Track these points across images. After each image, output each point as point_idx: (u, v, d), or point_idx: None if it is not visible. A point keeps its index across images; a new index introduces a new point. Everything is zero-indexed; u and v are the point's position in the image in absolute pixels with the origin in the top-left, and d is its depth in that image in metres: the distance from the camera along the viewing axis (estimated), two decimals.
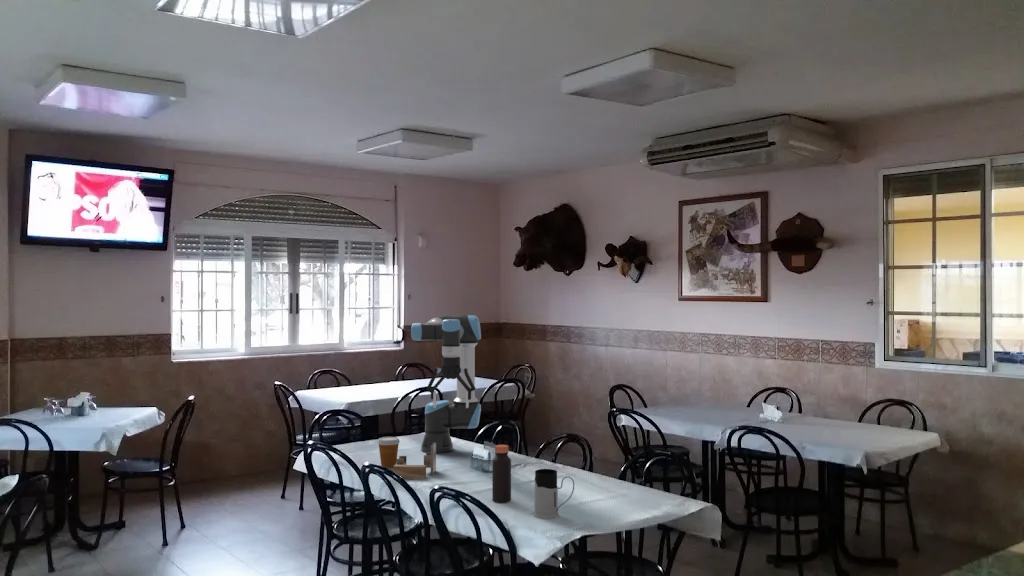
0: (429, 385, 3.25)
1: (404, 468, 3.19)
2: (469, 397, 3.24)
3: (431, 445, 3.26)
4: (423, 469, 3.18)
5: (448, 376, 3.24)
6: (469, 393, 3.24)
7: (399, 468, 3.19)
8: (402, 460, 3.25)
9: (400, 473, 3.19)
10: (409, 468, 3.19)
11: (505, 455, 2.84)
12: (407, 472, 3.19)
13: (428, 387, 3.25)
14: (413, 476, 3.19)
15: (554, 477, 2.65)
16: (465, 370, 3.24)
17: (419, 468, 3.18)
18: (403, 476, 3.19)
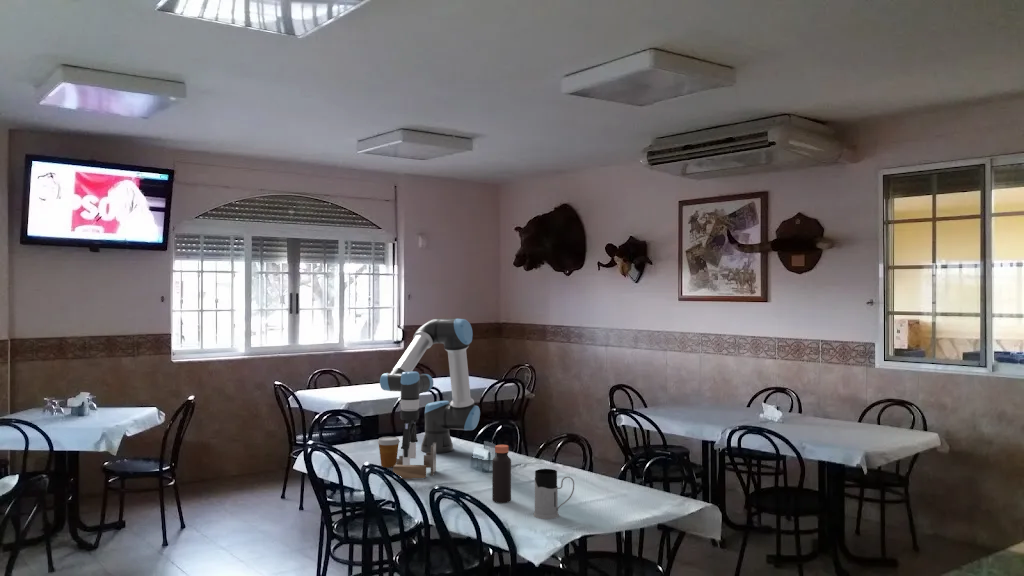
0: None
1: (404, 468, 3.19)
2: None
3: (431, 445, 3.26)
4: (423, 469, 3.18)
5: None
6: None
7: (399, 468, 3.19)
8: (402, 460, 3.25)
9: (400, 473, 3.19)
10: (409, 468, 3.19)
11: (505, 455, 2.84)
12: (407, 472, 3.19)
13: None
14: (413, 476, 3.19)
15: (554, 477, 2.65)
16: None
17: (419, 468, 3.18)
18: (403, 476, 3.19)
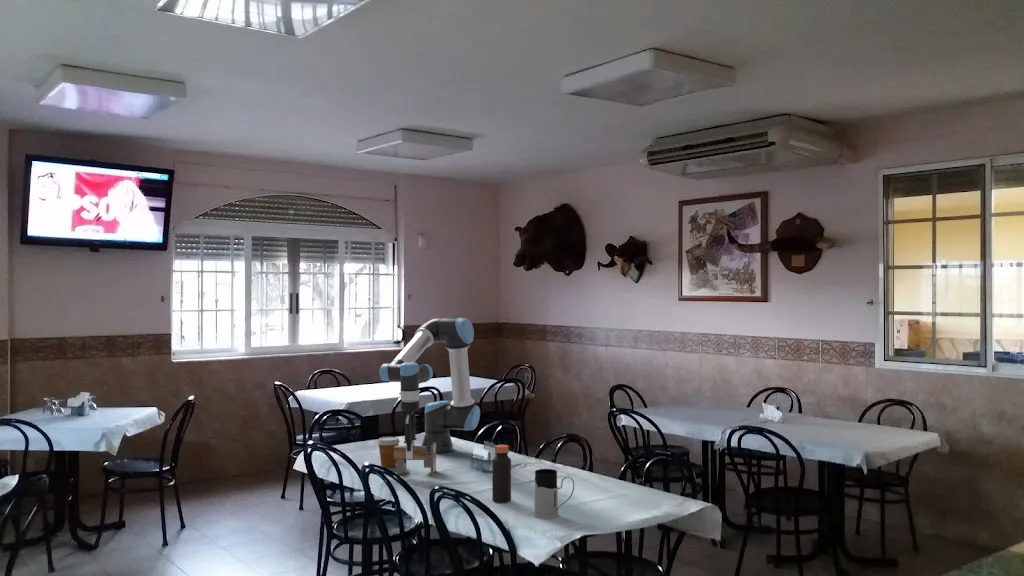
0: None
1: (404, 449, 3.19)
2: None
3: (431, 445, 3.26)
4: (423, 450, 3.19)
5: None
6: None
7: (399, 449, 3.19)
8: (402, 460, 3.25)
9: (400, 454, 3.19)
10: None
11: (505, 455, 2.84)
12: None
13: None
14: (413, 457, 3.19)
15: (554, 477, 2.65)
16: None
17: (419, 449, 3.19)
18: (403, 457, 3.19)
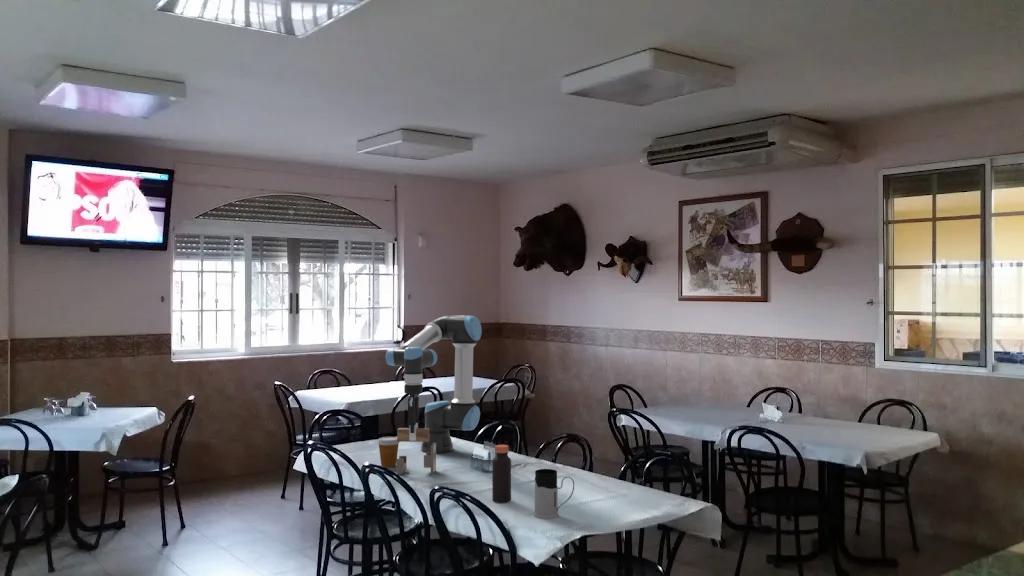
0: None
1: (408, 431, 3.27)
2: None
3: (431, 445, 3.26)
4: (426, 432, 3.26)
5: None
6: None
7: (403, 431, 3.27)
8: (402, 460, 3.25)
9: (404, 436, 3.27)
10: None
11: (505, 455, 2.84)
12: None
13: None
14: (416, 439, 3.26)
15: (554, 477, 2.65)
16: None
17: (422, 431, 3.26)
18: (407, 439, 3.27)
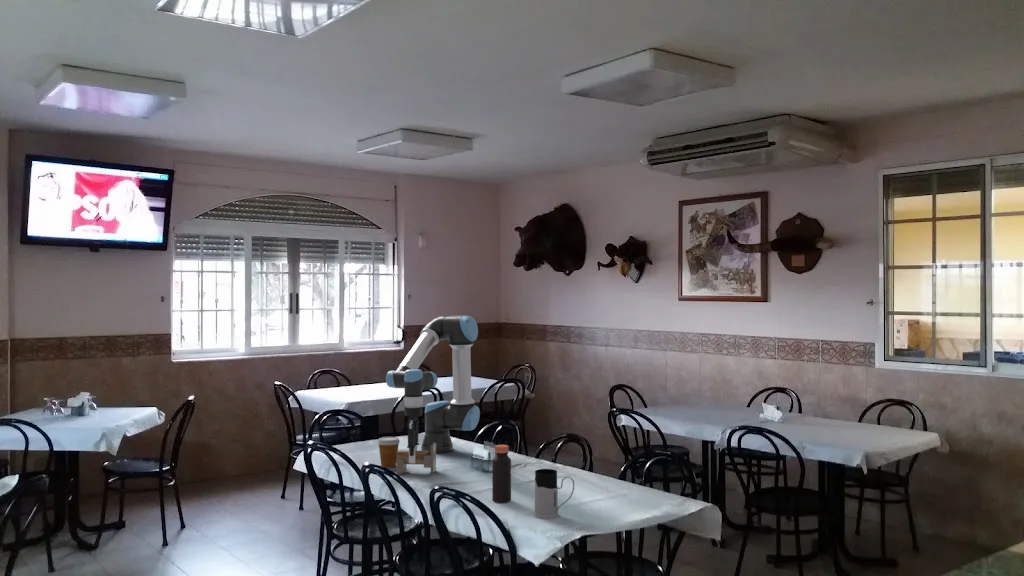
0: None
1: (407, 454, 3.27)
2: None
3: (431, 445, 3.26)
4: (426, 454, 3.26)
5: None
6: None
7: (402, 454, 3.27)
8: (402, 460, 3.25)
9: None
10: None
11: (505, 455, 2.84)
12: None
13: None
14: (416, 462, 3.26)
15: (554, 477, 2.65)
16: None
17: (422, 454, 3.26)
18: (406, 461, 3.27)
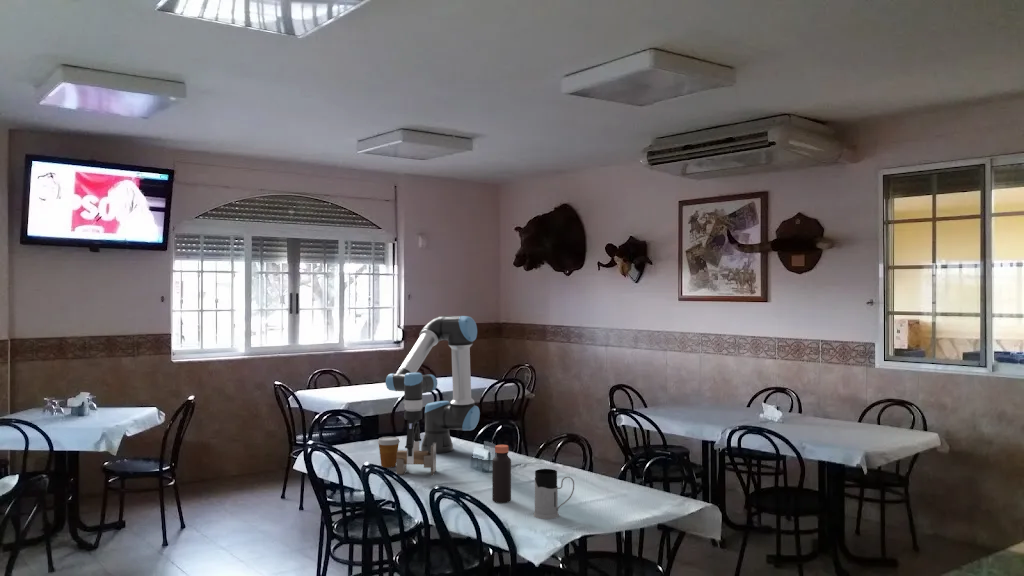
0: None
1: None
2: None
3: (431, 445, 3.26)
4: None
5: None
6: None
7: (402, 454, 3.27)
8: (402, 460, 3.25)
9: None
10: None
11: (505, 455, 2.84)
12: None
13: None
14: (416, 462, 3.26)
15: (554, 477, 2.65)
16: None
17: (422, 454, 3.26)
18: (406, 461, 3.27)
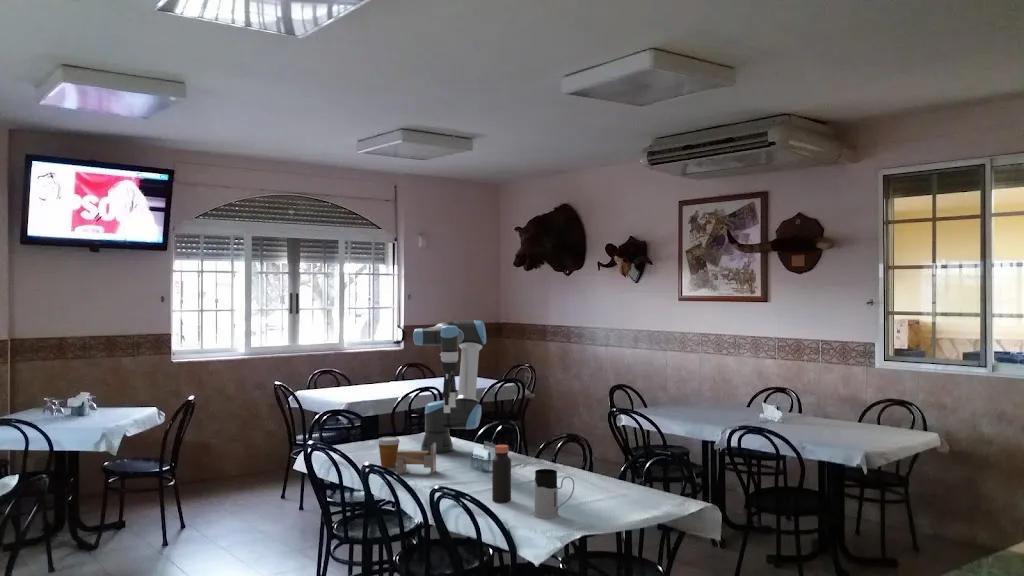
0: None
1: (407, 454, 3.27)
2: None
3: (431, 445, 3.26)
4: None
5: None
6: None
7: (402, 454, 3.27)
8: (402, 460, 3.25)
9: None
10: (412, 454, 3.27)
11: (505, 455, 2.84)
12: (410, 457, 3.27)
13: None
14: (416, 462, 3.26)
15: (554, 477, 2.65)
16: None
17: (422, 454, 3.26)
18: (406, 461, 3.27)
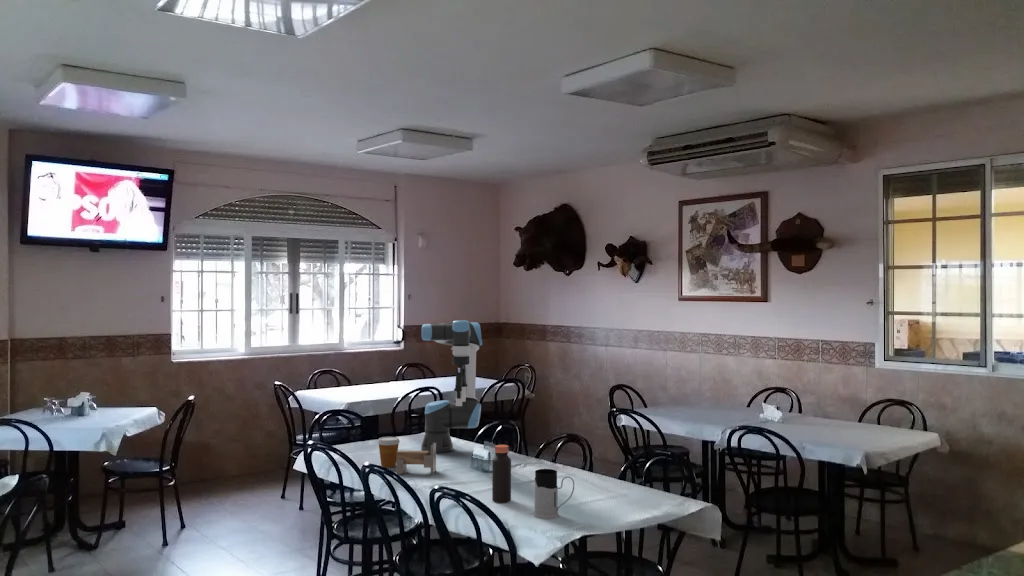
0: None
1: (407, 454, 3.27)
2: None
3: (431, 445, 3.26)
4: None
5: None
6: None
7: (402, 454, 3.27)
8: (402, 460, 3.25)
9: None
10: (412, 454, 3.27)
11: (505, 455, 2.84)
12: (410, 457, 3.27)
13: None
14: (416, 462, 3.26)
15: (554, 477, 2.65)
16: None
17: (422, 454, 3.26)
18: (406, 461, 3.27)
